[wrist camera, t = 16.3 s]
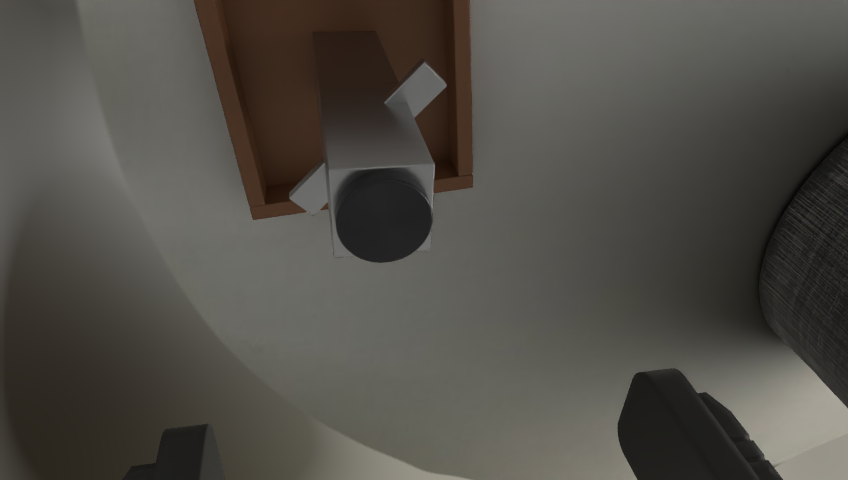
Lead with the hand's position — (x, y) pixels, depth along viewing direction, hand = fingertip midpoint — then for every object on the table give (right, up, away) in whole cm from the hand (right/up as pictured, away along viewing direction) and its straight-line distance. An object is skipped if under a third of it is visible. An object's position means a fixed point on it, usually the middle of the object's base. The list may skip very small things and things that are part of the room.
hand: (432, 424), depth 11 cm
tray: (-4, +12, +18) cm, 22 cm away
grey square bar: (-4, +12, +17) cm, 22 cm away
